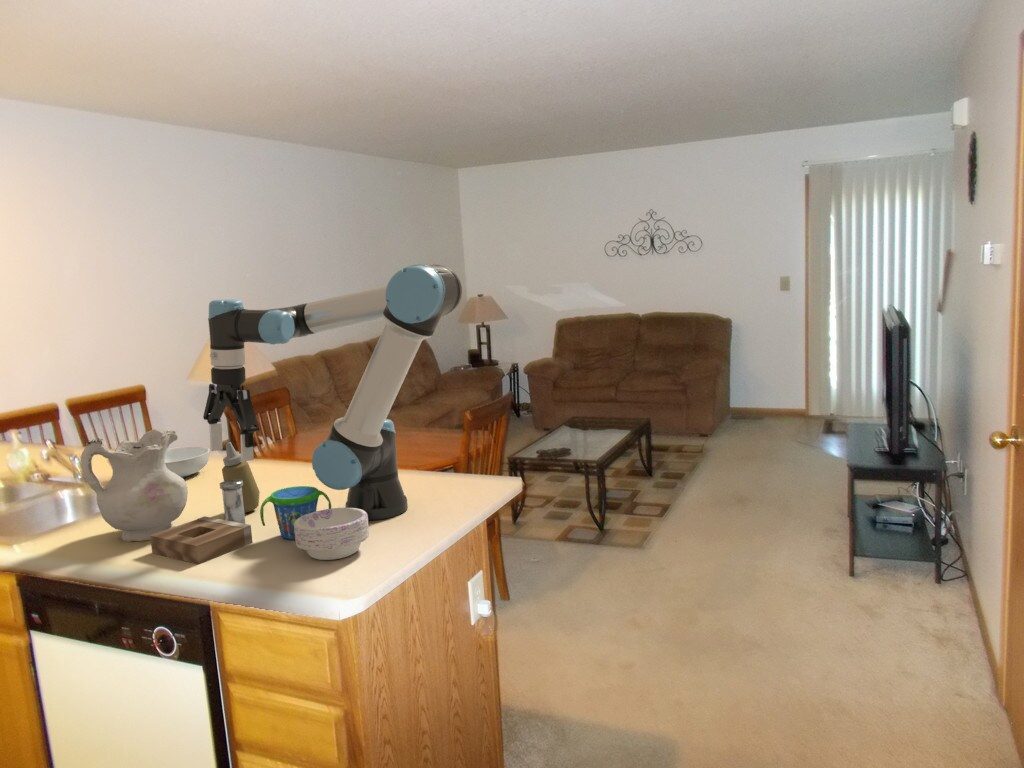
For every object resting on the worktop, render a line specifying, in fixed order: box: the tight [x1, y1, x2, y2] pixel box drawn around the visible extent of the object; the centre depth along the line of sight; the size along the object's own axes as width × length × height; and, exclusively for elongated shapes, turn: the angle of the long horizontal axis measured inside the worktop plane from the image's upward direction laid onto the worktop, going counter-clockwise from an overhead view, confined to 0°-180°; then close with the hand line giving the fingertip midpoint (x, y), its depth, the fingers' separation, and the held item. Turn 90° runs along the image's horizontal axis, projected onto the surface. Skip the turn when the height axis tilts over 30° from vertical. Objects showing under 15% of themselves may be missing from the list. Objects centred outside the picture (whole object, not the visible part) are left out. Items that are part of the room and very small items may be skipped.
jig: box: [149, 515, 253, 565], centre depth 175 cm, size 16×14×4 cm
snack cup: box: [259, 485, 333, 541], centre depth 179 cm, size 16×10×10 cm
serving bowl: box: [165, 445, 211, 479], centre depth 241 cm, size 21×21×7 cm
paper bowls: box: [294, 507, 370, 561], centre depth 167 cm, size 15×15×8 cm
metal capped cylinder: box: [219, 479, 247, 524], centre depth 188 cm, size 5×5×11 cm
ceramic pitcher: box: [80, 428, 189, 543], centre depth 185 cm, size 22×20×25 cm
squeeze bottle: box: [221, 441, 260, 514], centre depth 199 cm, size 8×8×18 cm
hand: (231, 455), depth 187 cm, fingers open, 13 cm apart
